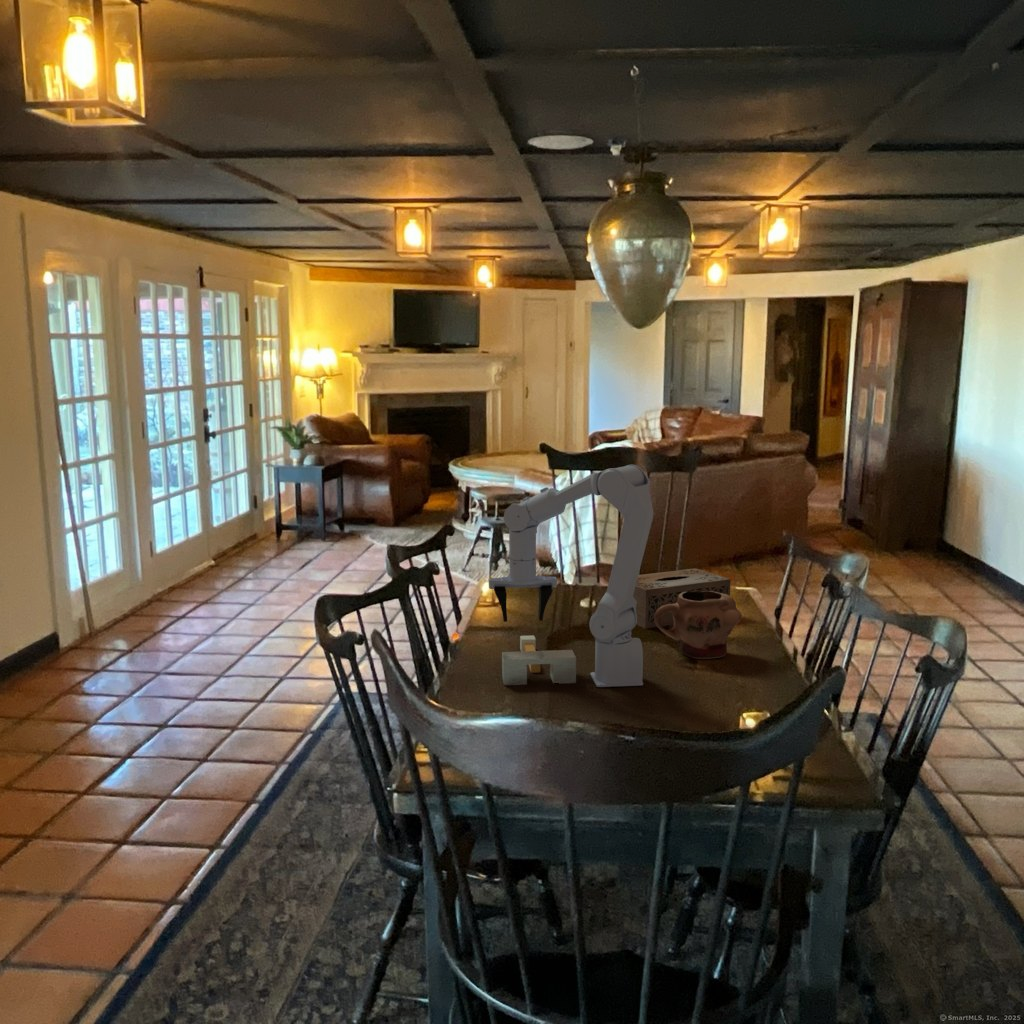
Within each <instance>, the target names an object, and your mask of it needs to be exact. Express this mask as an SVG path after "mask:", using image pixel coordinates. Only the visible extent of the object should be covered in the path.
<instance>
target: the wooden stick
mask: <svg viewBox="0 0 1024 1024" xmlns="http://www.w3.org/2000/svg"><path fill="white" fill-rule="evenodd" d="M536 640H537V639H536V637H535V635H534V634H533V635H520V637H519V641H520V642H519V648H520V651H537V650H536V647H537V646H536V645H537V642H536ZM541 665H542V664H531V665H528V668H529V671H530V673H541V668H542V667H541Z"/></svg>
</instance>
